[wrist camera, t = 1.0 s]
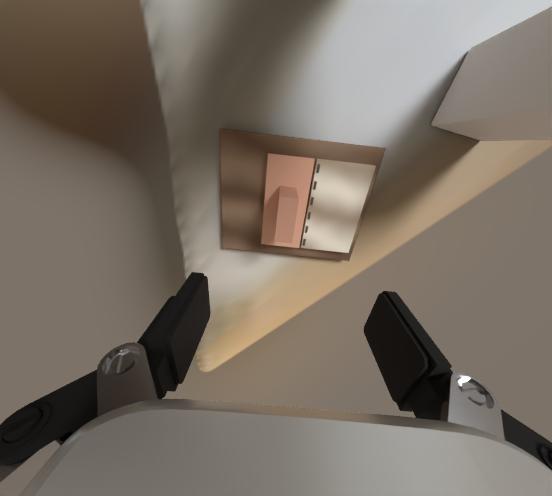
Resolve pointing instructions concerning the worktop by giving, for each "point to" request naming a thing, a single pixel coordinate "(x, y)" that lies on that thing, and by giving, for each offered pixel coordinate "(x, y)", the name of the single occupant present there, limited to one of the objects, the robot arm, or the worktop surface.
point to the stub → (285, 199)
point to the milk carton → (504, 86)
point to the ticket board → (321, 200)
